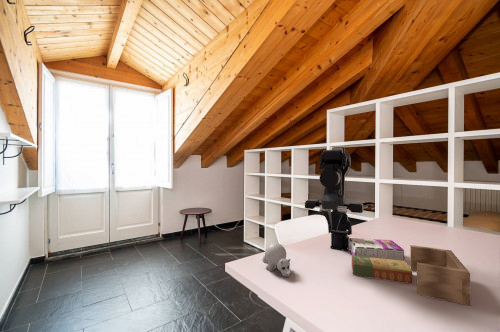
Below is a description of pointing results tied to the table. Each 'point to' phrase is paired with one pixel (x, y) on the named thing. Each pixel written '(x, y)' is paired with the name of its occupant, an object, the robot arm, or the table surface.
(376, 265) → the carton
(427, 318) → the table surface
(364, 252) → the candy bar box
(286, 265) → the chubby cartoon animal
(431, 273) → the book slot
